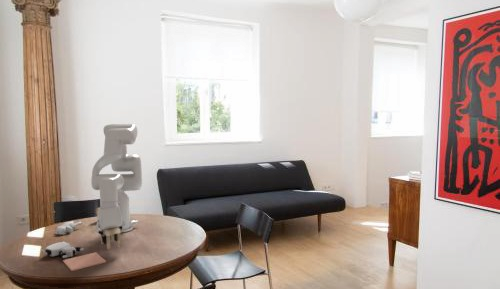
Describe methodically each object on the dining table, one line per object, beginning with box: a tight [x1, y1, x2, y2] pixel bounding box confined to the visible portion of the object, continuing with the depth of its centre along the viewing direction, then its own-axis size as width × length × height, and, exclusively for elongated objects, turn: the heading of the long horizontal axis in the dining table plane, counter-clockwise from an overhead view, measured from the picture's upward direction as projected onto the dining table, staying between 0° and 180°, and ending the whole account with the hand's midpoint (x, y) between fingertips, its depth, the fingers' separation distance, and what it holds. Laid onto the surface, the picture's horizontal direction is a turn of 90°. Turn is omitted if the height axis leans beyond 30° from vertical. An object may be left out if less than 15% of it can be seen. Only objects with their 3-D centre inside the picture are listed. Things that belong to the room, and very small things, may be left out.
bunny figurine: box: [54, 220, 83, 236], centre depth 205 cm, size 10×5×15 cm
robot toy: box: [40, 240, 85, 259], centre depth 169 cm, size 12×4×15 cm
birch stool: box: [99, 228, 122, 250], centre depth 170 cm, size 6×9×8 cm, turn 40°
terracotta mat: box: [62, 252, 107, 272], centre depth 161 cm, size 14×14×1 cm
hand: (110, 241), depth 170 cm, fingers closed on birch stool, 4 cm apart
